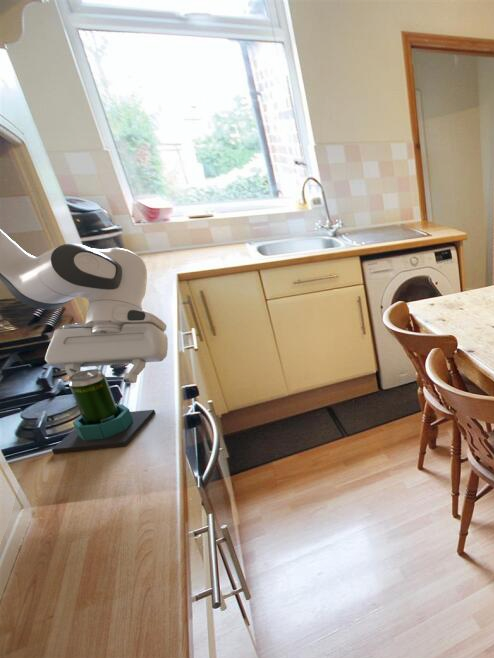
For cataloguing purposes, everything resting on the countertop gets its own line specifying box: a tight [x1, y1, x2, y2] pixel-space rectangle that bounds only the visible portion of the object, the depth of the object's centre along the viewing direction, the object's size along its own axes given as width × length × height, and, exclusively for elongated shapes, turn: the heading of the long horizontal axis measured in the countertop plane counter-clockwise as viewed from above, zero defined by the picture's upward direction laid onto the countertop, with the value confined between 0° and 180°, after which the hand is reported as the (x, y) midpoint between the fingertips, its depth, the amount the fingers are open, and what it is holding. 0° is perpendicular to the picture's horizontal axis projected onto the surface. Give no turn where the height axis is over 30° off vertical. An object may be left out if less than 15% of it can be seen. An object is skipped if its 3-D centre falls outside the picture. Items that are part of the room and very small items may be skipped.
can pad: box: [51, 403, 156, 455], centre depth 93 cm, size 12×12×4 cm
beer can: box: [67, 368, 120, 425], centre depth 91 cm, size 5×5×12 cm
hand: (102, 384), depth 93 cm, fingers open, 8 cm apart
